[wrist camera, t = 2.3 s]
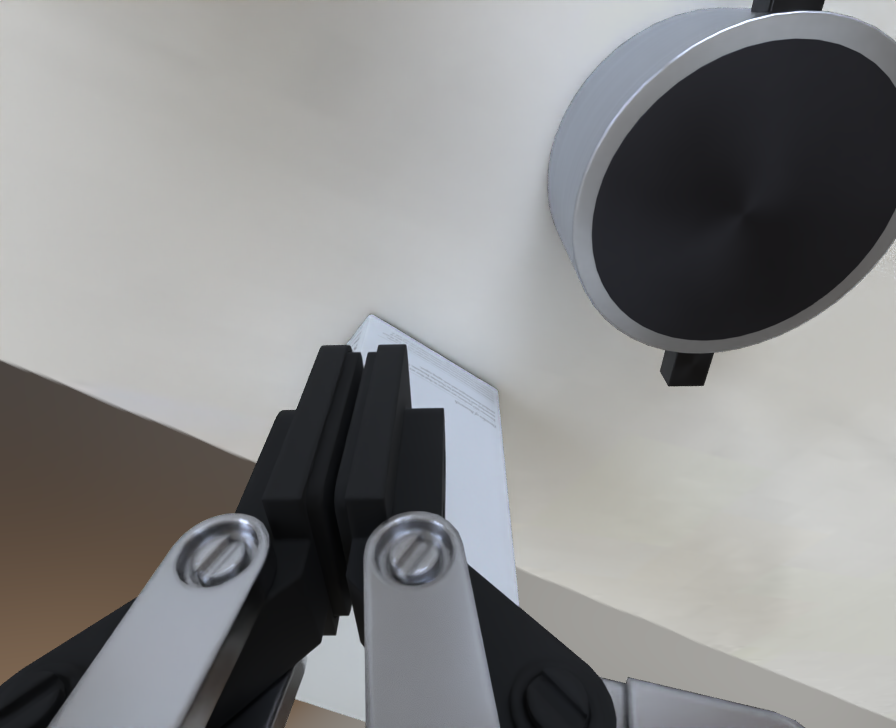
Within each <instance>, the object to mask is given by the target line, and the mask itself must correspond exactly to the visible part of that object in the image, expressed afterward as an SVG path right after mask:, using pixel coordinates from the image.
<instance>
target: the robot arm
mask: <svg viewBox="0 0 896 728" xmlns="http://www.w3.org/2000/svg"><path fill="white" fill-rule="evenodd" d="M445 501H446V446H445V416H444V408H412V403H411V390H410V377H409V365H408V352H407V345H406V344H381V345H378V348H377V352H368V354H367V357H366V361H365V366H363V359H362V355H361V352H352V348H351V346H350V345H324V346H321V348H320V350H319V352H318V355H317V357H316V360H315V363H314V365H313V368H312V370H311V373H310V375H309V378H308V381H307V383H306V386H305V388H304V391H303V393H302V396H301V399H300V401H299V404H298V406H297V409H296V410H282V411H281V412H279V414H278V415H277V417H276V419H275V421H274V424H273V426H272V428H271V431H270V433H269V435H268V437H267V440H266V442H265V444H264V447H263V449H262V451H261V454H260V456H259V458H258V461H257V463H256V465H255V468H254V470H253V473H252V475H251V477H250V480H249V482H248V484H247V486H246V489H245V491H244V494H243V496H242V498H241V500H240V503H239V505H238V507H237V510H236V512H235V513H232V514H224V515H220V516H216V517H212V518H210V519H207V520H206V521H203V522H201V523H199V524H197V525H196V526H194V527H193V528H191V529H190V530H189V531H187V532H186V533H185V534H183V535H182V537H181V538H180V539H179V540H178V541H177V542H176V543H175V545H174V546H173V547H172V548H171V550H170V551H169V553H168V554H167V555H166V557H165V558H164V560H163V561H162V563H161V564H160V565H159V567H158V569H157V570H156V571H155V573H154V574H153V576H152V577H151V578H150V580H149V581H148V583H147V584H146V586H145V587H144V589H143V590H142V591H141V593H140V594H139V596H138V597H136V598H135V599H133V600H132V601H130V602H128V603H127V604H125V605H123V606H122V607H120V608H119V609H117V610H115V611H114V612H112V613H111V614H109V615H108V616H106V617H104V618H103V619H101V620H100V621H98V622H96V623H95V624H93V625H92V626H90V627H88V628H87V629H85V630H84V631H82V632H81V633H79V634H77V635H76V636H74V637H72V638H71V639H69V640H68V641H66V642H65V643H63V644H61V645H60V646H58V647H57V648H55V649H54V650H52V651H50V652H49V653H47V654H45V655H44V656H42V657H41V658H39V659H37V660H36V661H34V662H33V663H31V664H29V665H28V666H26V667H25V668H23V669H22V670H20V671H19V672H18V673H16V674H15V675H14V676H12V677H11V678H10V679H8V680H7V681H6V682H4V683H3V684H2V685H1V686H0V728H284V727H285V725H286V722H287V719H288V716H289V714H290V711H291V708H292V705H293V703H294V700H295V697H296V695H297V692H298V689H299V686H300V684H301V681H302V678H303V675H304V673H305V668H306V663H307V655H308V654H309V653H310V652H311V651H312V650H313V649H315V648H316V647H317V646H318V645H319V644H321V642H322V637H323V636H336V633H337V628H338V623H339V617H340V616H349V614H350V611H351V607H352V606H353V611H354V616H355V620H356V625H357V630H358V634H359V639H360V643H361V644H362V645H363V646H364V647H365V717H366V728H805V727H803V726H802V725H801V724H799V723H798V722H797V721H796V720H793V719H791V718H788V717H786V716H783V715H781V714H778V713H776V712H774V711H769V710H765V709H760V708H757V707H752V706H748V705H744V704H740V703H735V702H731V701H727V700H723V699H719V698H714V697H710V696H706V695H701V694H698V693H693V692H689V691H685V690H681V689H676V688H672V687H668V686H663V685H660V684H655V683H651V682H647V681H643V680H638V679H634V678H630V677H628V678H627V681H626V683H622V682H618V681H614V680H610V679H606V678H601V677H599V676H598V675H597V674H596V673H595V672H594V671H593V669H592V668H591V667H590V666H589V665H588V664H586V663H585V662H584V661H583V660H581V658H579V657H578V656H577V655H576V654H575V653H573V652H572V651H571V650H570V649H569V648H567V647H566V646H565V645H564V644H563V643H562V642H560V641H559V640H558V639H557V638H556V637H554V636H553V635H552V634H551V633H550V632H548V631H547V630H546V629H545V628H544V627H542V626H541V625H540V624H539V623H538V622H536V621H535V620H534V619H533V618H532V617H530V616H529V615H528V614H527V613H526V612H525V611H523V610H522V609H521V608H520V607H519V606H517V605H516V604H515V603H514V602H513V601H512V600H510V599H509V598H508V597H507V596H506V595H504V594H503V593H502V592H501V591H500V590H498V589H497V588H496V587H495V586H494V585H492V584H491V583H490V582H489V581H488V580H487V579H485V578H484V577H483V576H482V575H481V574H479V573H478V572H477V571H476V570H475V569H473V568H472V567H471V566H470V565H469V564H467V560H466V555H465V550H464V545H463V542H462V539H461V537H460V534H459V532H458V531H457V529H456V528H455V527H454V526H453V525H452V524H451V523H450V522H449V521H448V520H446V519H445Z"/></svg>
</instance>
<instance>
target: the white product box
mask: <svg viewBox="0 0 896 728" xmlns="http://www.w3.org/2000/svg"><path fill="white" fill-rule="evenodd" d="M381 344H406V345H407V352H408V365H409V377H410V390H411V403H412V408H444V416H445V446H446V501H445V519H446V520H448V521H449V522H450V523H451V524H452V525H453V526H454V527H455V528H456V529H457V531H458V532H459V534H460V537H461V539H462V542H463V545H464V550H465V555H466V560H467V564H469V565H470V566H471V567H472V568H473V569H475V570H476V571H477V572H478V573H479V574H481V575H482V576H483V577H484V578H485V579H487V580H488V581H489V582H490V583H491V584H492V585H494V586H495V587H496V588H497V589H498V590H500V591H501V592H502V593H503V594H504V595H506V596H507V597H508V598H509V599H510V600H512V601H513V602H514V603H515V604H516V605H517V606H519V597H518V588H517V577H516V568H515V558H514V549H513V539H512V529H511V519H510V508H509V498H508V488H507V478H506V468H505V458H504V447H503V438H502V427H501V418H500V409H499V398H498V391H497V389H495V388H494V387H492V386H490V385H489V384H487V383H485V382H484V381H482V380H480V379H479V378H477V377H475V376H474V375H472V374H470V373H469V372H467V371H465V370H464V369H462V368H461V367H459V366H457V365H456V364H454V363H452V362H451V361H449V360H447V359H446V358H444V357H442V356H441V355H439V354H437V353H436V352H434V351H432V350H431V349H429V348H427V347H426V346H424V345H423V344H421V343H419V342H418V341H416V340H414V339H413V338H411V337H409V336H408V335H406V334H404V333H403V332H401V331H399V330H398V329H396V328H394V327H393V326H391V325H389V324H388V323H386V322H384V321H383V320H381V319H379V318H378V317H376V316H374V315H369V316H368V317H367V318H366V320H365V321H364V322H363V323H362V325H361V326H360V327H359V329H358V330H357V331H356V333H355V334H354V335H353V337H352V338H351V339H350V341H349V342H348V343H347V345H350V346H351V348H352V352H361V355H362V359H363V366H365V361H366V357H367V354H368V352H377V348H378V345H381ZM295 699H297V700H300V701H304V702H307V703H310V704H313V705H316V706H319V707H322V708H325V709H328V710H331V711H334V712H337V713H340V714H343V715H346V716H349V717H353V718H356V719H359V720H362V721H365V722H366V717H365V647H364V646H363V645H362V644H361V643H360V639H359V634H358V630H357V625H356V620H355V616H354V611H353V606H352V607H351V611H350V614H349V616H340V617H339V623H338V628H337V633H336V636H323V637H322V642H321V644H319V645H318V646H317V647H316V648H315V649H313V650H312V651H311V652H310V653H309V654H308V655H307V663H306V668H305V673H304V675H303V678H302V681H301V684H300V686H299V689H298V692H297V695H296V697H295Z"/></svg>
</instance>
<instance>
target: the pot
mask: <svg viewBox="0 0 896 728" xmlns="http://www.w3.org/2000/svg"><path fill="white" fill-rule="evenodd" d="M824 1H825V0H754V1H753V5H752V9H750V8H710V9H700V10H695V11H691V12H687V13H683V14H679V15H676V16H673V17H671V18H668V19H666V20H663V21H661V22H658V23H656V24H654V25H652V26H650V27H648V28H647V29H645V30H643V31H641V32H639V33H638V34H636V35H634V36H633V37H632V38H630V39H629V40H628V41H626V42H625V43H623V44H622V45H621V46H619V47H618V48H617V49H616V50H614V51H613V52H612V53H611V54H610V55H609V56H608V57H607V58H606V59H605V60H604V61H602V62H601V63H600V64H599V66H598V67H597V68H596V69H595V70H594V71H593V72H592V74H591V75H590V76H589V77H588V78H587V79H586V81H585V82H584V83H583V85H582V86H581V88H580V89H579V91H578V92H577V94H576V95H575V96H574V98H573V100H572V101H571V103H570V105H569V107H568V109H567V111H566V113H565V114H564V116H563V119H562V121H561V124H560V126H559V129H558V131H557V134H556V136H555V140H554V144H553V147H552V151H551V155H550V162H549V169H548V198H549V207H550V211H551V215H552V219H553V222H554V225H555V227H556V230H557V232H558V234H559V237H560V239H561V241H562V243H563V245H564V247H565V250H566V252H567V254H568V256H569V258H570V260H571V263H572V265H573V267H574V269H575V271H576V273H577V276H578V278H579V280H580V282H581V284H582V287H583V289H584V291H585V293H586V294H587V296H588V297H589V299H590V301H591V302H592V304H593V306H594V307H595V308H596V309H597V310H598V312H599V313H600V314H601V315H602V316H603V317H604V318H605V319H606V320H607V321H608V322H609V323H610V324H612V325H613V326H614V327H615V328H616V329H617V330H619V331H621V332H622V333H624V334H625V335H627V336H629V337H630V338H632V339H634V340H637V341H639V342H641V343H644V344H646V345H648V346H652V347H655V348H659V349H663V350H665V353H664V357H663V361H662V365H661V369H660V372H661V374H662V376H663V378H664V379H665V381H666V383H667V385H668V386H704V383H705V380H706V377H707V374H708V371H709V367H710V364H711V361H712V358H713V355H714V353H715V352H723V351H729V350H735V349H740V348H744V347H747V346H751V345H755V344H758V343H761V342H764V341H767V340H769V339H772V338H775V337H777V336H780V335H782V334H784V333H786V332H788V331H790V330H792V329H794V328H797V327H799V326H800V325H802V324H804V323H805V322H807V321H809V320H811V319H812V318H814V317H816V316H817V315H819V314H820V313H822V312H823V311H825V310H826V309H827V308H829V307H830V306H832V305H833V304H834V303H836V302H837V301H838V300H840V299H841V298H842V297H843V296H844V295H846V294H847V293H848V292H849V291H850V290H851V289H853V288H854V287H855V286H856V285H857V284H858V283H859V282H860V281H861V280H862V279H863V278H864V277H865V276H866V275H867V274H868V273H869V272H870V271H871V270H872V269H873V268H874V266H875V265H876V264H877V263H878V262H879V260H880V259H881V258H882V257H883V256H884V254H885V253H886V252H887V251H888V249H889V248H890V246H891V245H892V244H893V242H894V241H895V239H896V42H895V41H894V39H892V38H891V37H889V36H888V35H886V34H885V33H884V32H882V31H881V30H879V29H878V28H876V27H875V26H873V25H871V24H868V23H866V22H864V21H861V20H859V19H857V18H854V17H851V16H847V15H843V14H838V13H834V12H829V11H822V7H823V4H824Z"/></svg>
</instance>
